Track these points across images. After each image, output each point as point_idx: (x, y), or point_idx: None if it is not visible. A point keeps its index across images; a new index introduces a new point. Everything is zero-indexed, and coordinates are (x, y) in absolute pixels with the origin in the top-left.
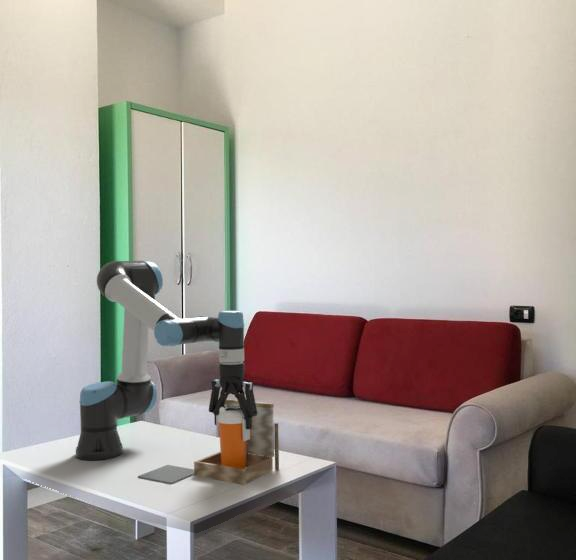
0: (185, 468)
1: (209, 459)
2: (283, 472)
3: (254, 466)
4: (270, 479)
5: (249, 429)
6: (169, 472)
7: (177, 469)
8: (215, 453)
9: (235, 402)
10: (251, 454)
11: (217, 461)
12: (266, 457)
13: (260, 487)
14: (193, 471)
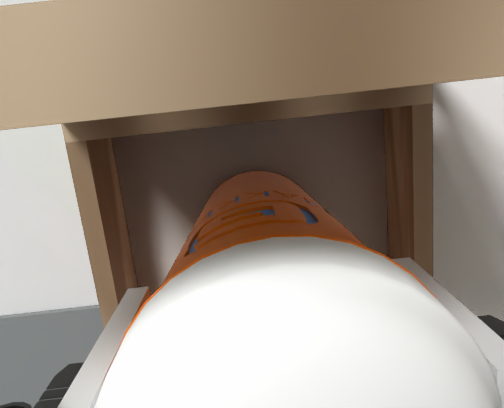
0: (30, 322)
1: (118, 284)
2: (466, 80)
3: (430, 265)
4: (467, 204)
5: (448, 297)
6: (24, 398)
7: (14, 352)
8: (82, 216)
9: None
10: (283, 108)
11: (114, 208)
12: (401, 105)
13: (486, 308)
14: (99, 332)
